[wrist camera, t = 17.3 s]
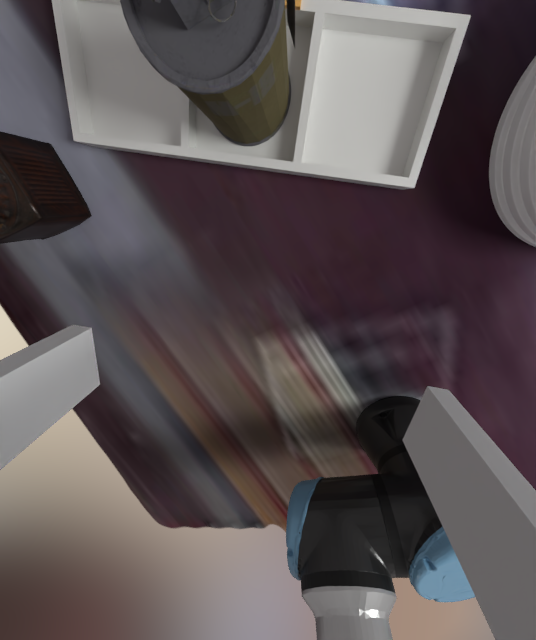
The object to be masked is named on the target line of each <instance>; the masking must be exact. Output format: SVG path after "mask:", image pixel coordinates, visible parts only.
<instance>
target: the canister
mask: <svg viewBox="0 0 536 640" xmlns="http://www.w3.org/2000/svg"><path fill="white" fill-rule="evenodd" d="M286 2H287V22H288V26H289V29H290V33H291V37H292V40H293V44H294V48H295V0H286ZM120 3H121V7H122V11H123V15H124V18H125V20H126V23H127V25H128V28H129V30H130V32H131V34H132V36H133V38H134V40H135V42H136V44H137V46H138V47H139V49H140V51H141V53H142V54H143V55H144V57H145V58H146V59H147V60H148V62H149V63H150V64H151V65H152V67H153V68H154V69H155V70H156V71H157V72H158V73H159V74H160V75H161V76H163V77H164V78H165V79H166V80H167V81H169V82H171V83H172V84H174V85H176V86H177V87H178V88H179V89H180V90H181V91H182V92H183V93H184V94H185V95H186V96H187V97H188V98H189V99H190V100H191V101H192V102H193V103H194V104H195V105H196V106H197V107H198V108H199V109H200V110H201V111H202V112H203V113H204V114H205V115H206V116H207V117H208V118H209V119H210V120H211V122H212V123H213V124H214V126H215V127H216V128H217V130H218V131H219V132H220V133H221V134H222V135H223V136H224V137H225V138H226V139H227V140H229V141H231V142H233V143H234V144H238V145H241V146H255V145H259V144H261V143H264V142H266V141H268V140H269V139H270V138H271V137H273V136H274V135H275V134H276V133H277V132H278V130H279V129H280V127H281V126H282V124H283V123H284V120H285V118H286V116H287V113H288V110H289V106H290V100H291V82H290V76H289V71H288V56H287V36H286V16H285V0H120Z"/></svg>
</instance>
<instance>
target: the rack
mask: <svg viewBox="0 0 536 640" xmlns="http://www.w3.org/2000/svg"><path fill="white" fill-rule="evenodd" d="M52 5H53V12H54V18H55V25H56V31H57V37H58V44H59V50H60V56H61V63H62V69H63V75H64V82H65V88H66V94H67V101H68V107H69V113H70V120H71V126H72V133H73V139H74V141H75V142H79V143H82V144H86V145H89V146H92V147H98V148H106V149H113V150H120V151H127V152H135V153H142V154H149V155H156V156H163V157H171V158H178V159H185V160H192V161H199V162H207V163H214V164H221V165H228V166H236V167H243V168H250V169H257V170H264V171H272V172H279V173H286V174H293V175H300V176H308V177H315V178H322V179H329V180H337V181H344V182H351V183H358V184H365V185H373V186H380V187H387V188H394V189H402V190H405V189H412V188H415V185H416V181H417V178H418V175H419V172H420V169H421V166H422V163H423V160H424V157H425V154H426V151H427V148H428V145H429V142H430V139H431V136H432V133H433V130H434V127H435V124H436V121H437V118H438V115H439V112H440V109H441V106H442V103H443V99H444V96H445V93H446V90H447V87H448V84H449V81H450V78H451V75H452V72H453V69H454V66H455V63H456V60H457V57H458V54H459V51H460V48H461V45H462V42H463V39H464V36H465V33H466V30H467V27H468V24H469V21H470V17H471V15H465V14H456V13H447V12H439V11H430V10H421V9H412V8H403V7H394V6H385V5H377V4H368V3H359V2H350V1H341V0H295V48H294V44H293V40H292V37H291V33H290V29H289V26H288V22H287V2H286V0H285V16H286V36H287V56H288V71H289V76H290V82H291V100H290V106H289V110H288V113H287V116H286V118H285V120H284V123H283V124H282V126H281V127H280V129H279V130H278V132H277V133H276V134H275V135H274V136H273V137H271V138H270V139H269V140H268V141H266V142H264V143H261V144H259V145H255V146H241V145H238V144H234V143H233V142H231V141H229V140H227V139H226V138H225V137H224V136H223V135H222V134H221V133H220V132H219V131H218V130H217V128H216V127H215V126H214V124H213V123H212V122H211V120H210V119H209V118H208V117H207V116H206V115H205V114H204V113H203V112H202V111H201V110H200V109H199V108H198V107H197V106H196V105H195V104H194V103H193V102H192V101H191V100H190V99H189V98H188V97H187V96H186V95H185V94H184V93H183V92H182V91H181V90H180V89H179V88H178V87H177V86H176V85H174V84H172V83H171V82H169V81H167V80H166V79H165V78H164V77H163V76H161V75H160V74H159V73H158V72H157V71H156V70H155V69H154V68H153V67H152V65H151V64H150V63H149V62H148V60H147V59H146V58H145V57H144V55H143V54H142V53H141V51H140V49H139V47H138V46H137V44H136V42H135V40H134V38H133V36H132V34H131V32H130V30H129V28H128V25H127V23H126V20H125V18H124V15H123V11H122V7H121V3H120V0H52Z"/></svg>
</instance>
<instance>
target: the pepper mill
mask: <svg viewBox="0 0 536 640" xmlns="http://www.w3.org/2000/svg"><path fill="white" fill-rule="evenodd" d="M90 216H91V213H90V211H89V208H88V206H87V204H86V202H85V200H84V198H83V197H82V195H81V193H80V191H79V190H78V188H77V186H76V184H75V183H74V181H73V179H72V177H71V176H70V174H69V172H68V171H67V169H66V168H65V166H64V164H63V163H62V161H61V160H60V158H59V156H58V155H57V153H56V152H55V150H54V148H53V147H52V145H51V144H49V143H44V142H40V141H36V140H32V139H28V138H24V137H20V136H17V135H12V134H8V133H4V132H0V244H1V243H8V242H16V241H23V240H32V239H46V238H49V237H52V236H55V235H58V234H60V233H62V232H65V231H67V230H69V229H71V228H73V227H75V226H77V225H80V224H81V223H82V222H84V221H85V220H86V219H88V218H89V217H90Z"/></svg>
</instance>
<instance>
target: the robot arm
mask: <svg viewBox="0 0 536 640" xmlns="http://www.w3.org/2000/svg"><path fill="white" fill-rule="evenodd" d="M99 385H100V381H99V375H98V368H97V362H96V355H95V348H94V342H93V335H92V328H89V327H83V326H77V325H72V326H69V327H67V328H65V329H63V330H61V331H59V332H57V333H55V334H53V335H51V336H49V337H47V338H45V339H43V340H41V341H39V342H37V343H35V344H33V345H31V346H28V347H26V348H24V349H22V350H20V351H18V352H16V353H14V354H12V355H10V356H8V357H6V358H4V359H2V360H0V470H1V469H2V468H3V467H4V466H5V465H7V464H8V463H9V462H10V461H11V460H12V459H14V458H15V457H16V456H17V455H18V454H19V453H21V452H22V451H23V450H24V449H25V448H26V447H28V446H29V445H30V444H31V443H32V442H33V441H35V440H36V439H37V438H38V437H39V436H40V435H42V434H43V433H44V432H45V431H46V430H47V429H48V428H50V427H51V426H52V425H53V424H54V423H56V422H57V421H58V420H59V419H60V418H61V417H63V416H64V415H65V414H66V413H67V412H68V411H70V410H71V409H72V408H73V407H74V406H75V405H77V404H78V403H79V402H80V401H81V400H82V399H84V398H85V397H86V396H87V395H88V394H89V393H91V392H92V391H93V390H94V389H95V388H96V387H98V386H99ZM356 432H357V436H358V440H359V443H360V445H361V447H362V448H363V450H364V451H365V452H366V454H367V455H368V457H369V458H370V460H371V461H372V463H373V464H374V466H375V467H376V468H377V470H378V473H379V474H372V475H370V474H369V475H358V476H345V477H330V478H324V477H319V478H317V479H313V480H305V481H301V482H299V483H298V484H297V485H296V486H295V487H294V490H293V492H292V494H291V497H290V501H289V507H288V515H287V529H286V543H287V547H288V551H287V559H288V566H289V570H290V573H291V574H292V576H293V577H294V578H296V579H297V580H301V589H302V597H303V599H304V600H305V602H306V603H307V605H308V606H309V607H310V609H311V610H312V612H313V613H314V616H315V620H316V632H317V640H393V639H392V634H391V630H390V626H389V615H390V613H391V610H392V608H393V605H394V603H395V601H396V594H395V590H394V586H393V582H392V578H400V577H401V578H409V579H410V582H411V584H412V585H413V586H414V588H415V590H416V591H417V592H418V593H419V595H421V596H422V597H424V598H426V599H428V600H431V599H434V600H435V601H437V602H455V601H462V600H467V599H470V598H474V597H476V599H477V601H478V603H479V605H480V608H481V610H482V612H483V614H484V616H485V618H486V620H487V623H488V625H489V627H490V629H491V631H492V633H493V635H494V637H495V640H536V491H535V489H534V488H533V487H532V486H531V485H530V484H529V482H528V481H527V480H526V479H525V478H524V477H523V476H522V474H521V473H520V472H519V471H518V470H517V469H516V467H515V466H514V465H513V464H512V463H511V462H510V460H509V459H508V458H507V457H506V456H505V455H504V454H503V452H502V451H501V450H500V449H499V448H498V447H497V445H496V444H495V443H494V442H493V441H492V440H491V439H490V437H489V436H488V435H487V434H486V433H485V432H484V430H483V429H482V428H481V427H480V426H479V425H478V423H477V422H476V421H475V420H474V419H473V418H472V417H471V415H470V414H469V413H468V412H467V411H466V410H465V408H464V407H463V406H462V405H461V404H460V403H459V401H458V400H457V399H456V398H455V397H454V396H453V395H452V393H451V392H450V391H449V390H447V389H441V388H435V387H429V386H427V388H426V390H425V393H424V395H423V397H422V399H421V401H420V400H418V399H414V398H410V397H391V398H386V399H383V400H380V401H377V402H375V403H373V404H372V405H370V406H369V407H367V408H366V409H365V410H364V411H363V412H362V413H361V415H360V416H359V418H358V420H357V424H356Z"/></svg>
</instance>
